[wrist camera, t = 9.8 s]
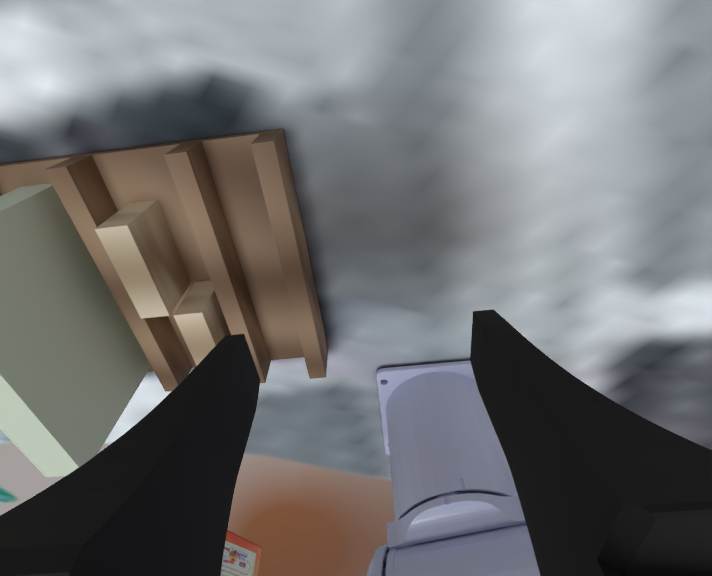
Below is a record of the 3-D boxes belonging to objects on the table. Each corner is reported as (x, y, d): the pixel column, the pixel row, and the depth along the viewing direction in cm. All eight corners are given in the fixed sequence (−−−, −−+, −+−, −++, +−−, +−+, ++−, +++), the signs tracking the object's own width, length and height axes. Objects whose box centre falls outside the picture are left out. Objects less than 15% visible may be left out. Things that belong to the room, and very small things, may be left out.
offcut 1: (191, 282, 23) (169, 315, 20) (166, 285, 23) (141, 318, 20) (157, 199, 20) (126, 225, 17) (129, 203, 20) (94, 228, 17)
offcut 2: (243, 344, 25) (230, 382, 22) (220, 347, 25) (205, 384, 23) (219, 279, 22) (202, 312, 20) (194, 282, 23) (173, 315, 20)
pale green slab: (154, 360, 26) (84, 474, 19) (125, 362, 26) (46, 477, 19) (59, 181, 19) (-97, 259, 13) (20, 186, 19) (-155, 266, 13)
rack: (328, 348, 26) (325, 377, 24) (105, 369, 27) (83, 398, 25) (282, 128, 19) (273, 140, 16) (-25, 167, 20) (-72, 184, 17)
